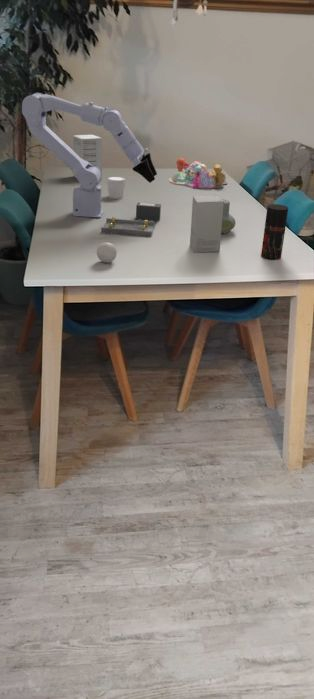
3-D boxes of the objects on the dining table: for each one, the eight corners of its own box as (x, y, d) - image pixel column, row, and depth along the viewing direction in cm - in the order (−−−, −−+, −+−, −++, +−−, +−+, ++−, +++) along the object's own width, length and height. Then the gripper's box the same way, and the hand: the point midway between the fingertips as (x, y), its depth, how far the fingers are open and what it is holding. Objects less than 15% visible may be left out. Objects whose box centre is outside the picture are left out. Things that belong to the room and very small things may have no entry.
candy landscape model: (225, 178, 284) (227, 157, 280) (229, 191, 263) (231, 168, 259) (168, 175, 284) (170, 153, 280) (168, 188, 263) (169, 165, 259)
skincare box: (214, 245, 199) (219, 195, 191) (220, 252, 193) (225, 201, 186) (188, 245, 197) (192, 195, 190) (193, 253, 191) (197, 201, 184)
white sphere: (115, 258, 184) (116, 239, 181) (117, 265, 179) (117, 246, 176) (88, 258, 183) (89, 239, 180) (89, 265, 178) (89, 245, 175)
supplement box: (102, 179, 268) (103, 138, 260) (82, 181, 264) (82, 138, 256) (92, 174, 275) (92, 133, 268) (72, 176, 271) (72, 134, 263)
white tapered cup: (128, 198, 244) (128, 179, 241) (112, 200, 241) (113, 181, 237) (118, 193, 249) (119, 175, 246) (103, 195, 246) (103, 177, 242)
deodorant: (280, 261, 189) (288, 210, 182) (260, 258, 190) (267, 208, 183) (281, 254, 194) (288, 205, 187) (261, 252, 195) (267, 203, 188)
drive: (135, 219, 219) (136, 205, 217) (137, 216, 223) (137, 202, 221) (159, 221, 219) (160, 206, 217) (160, 218, 223) (160, 203, 220)
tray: (101, 232, 204) (101, 224, 203) (106, 222, 214) (106, 215, 213) (151, 236, 204) (151, 228, 202) (154, 226, 213) (154, 218, 212)
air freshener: (204, 234, 208) (207, 204, 203) (199, 227, 215) (201, 197, 211) (237, 235, 210) (240, 204, 205) (230, 227, 217) (233, 197, 212)
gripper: (136, 140, 202) (161, 176, 207) (141, 133, 215) (165, 166, 220) (118, 153, 205) (143, 188, 209) (124, 145, 218) (148, 178, 222)
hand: (153, 178), depth 215 cm, fingers open, 7 cm apart
